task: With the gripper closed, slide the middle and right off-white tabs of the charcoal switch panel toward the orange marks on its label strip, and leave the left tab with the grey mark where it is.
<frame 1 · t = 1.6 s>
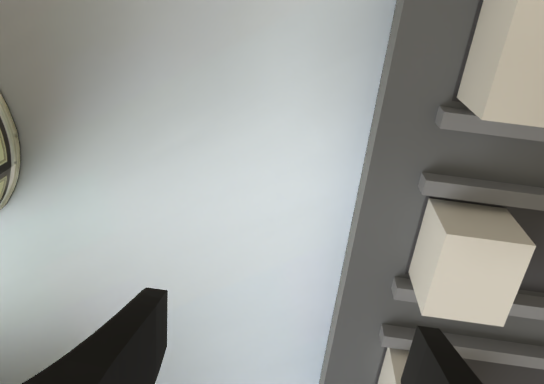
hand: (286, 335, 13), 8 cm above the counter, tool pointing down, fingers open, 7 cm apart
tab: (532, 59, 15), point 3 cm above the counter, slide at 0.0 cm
switch panel: (514, 231, 21), on the counter
tab middle: (464, 260, 18), point 3 cm above the counter, slide at 0.0 cm
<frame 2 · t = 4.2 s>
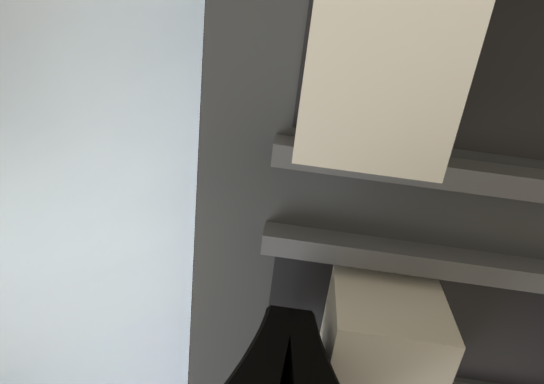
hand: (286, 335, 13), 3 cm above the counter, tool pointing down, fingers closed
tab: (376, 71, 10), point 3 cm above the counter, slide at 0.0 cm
switch panel: (410, 292, 16), on the counter
tab middle: (378, 351, 13), point 3 cm above the counter, slide at 1.6 cm, touching gripper
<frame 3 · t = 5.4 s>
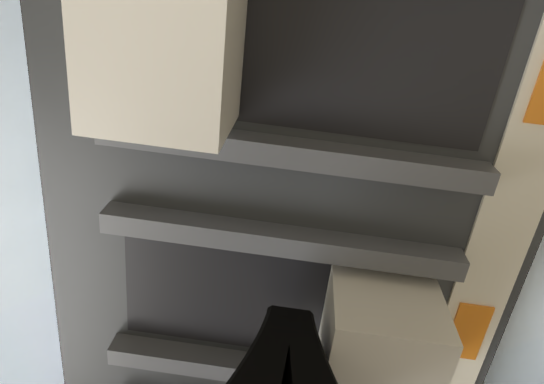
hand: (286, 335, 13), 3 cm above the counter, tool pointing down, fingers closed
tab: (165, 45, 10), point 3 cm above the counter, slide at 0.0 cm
switch panel: (277, 273, 16), on the counter
tab middle: (377, 351, 13), point 3 cm above the counter, slide at 6.0 cm, touching gripper
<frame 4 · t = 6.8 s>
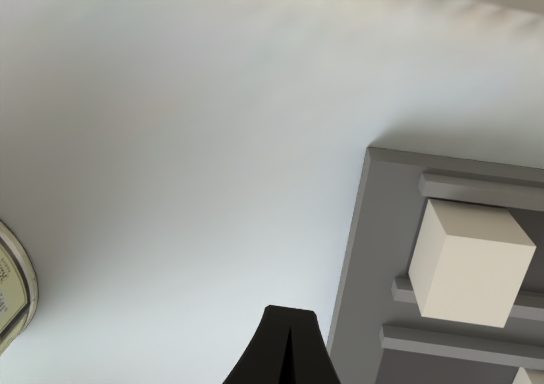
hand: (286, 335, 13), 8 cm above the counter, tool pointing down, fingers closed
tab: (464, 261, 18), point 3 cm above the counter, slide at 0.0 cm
switch panel: (466, 361, 24), on the counter
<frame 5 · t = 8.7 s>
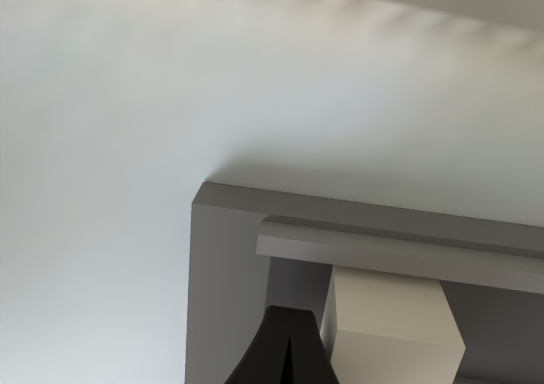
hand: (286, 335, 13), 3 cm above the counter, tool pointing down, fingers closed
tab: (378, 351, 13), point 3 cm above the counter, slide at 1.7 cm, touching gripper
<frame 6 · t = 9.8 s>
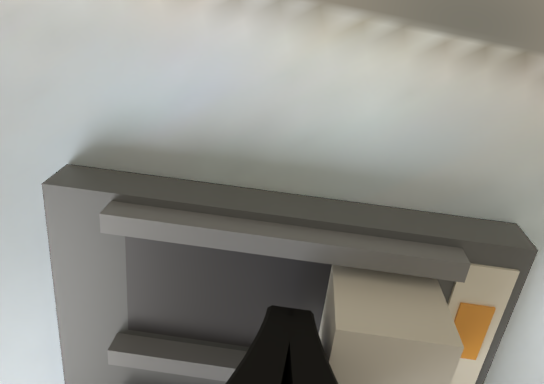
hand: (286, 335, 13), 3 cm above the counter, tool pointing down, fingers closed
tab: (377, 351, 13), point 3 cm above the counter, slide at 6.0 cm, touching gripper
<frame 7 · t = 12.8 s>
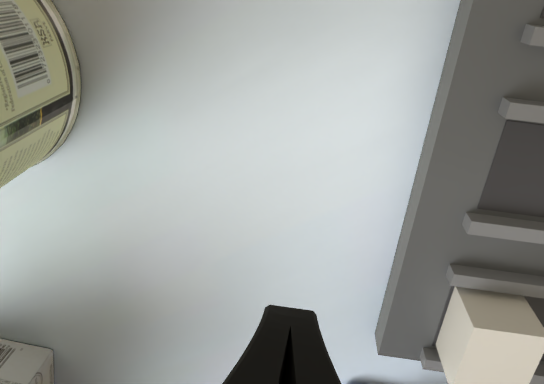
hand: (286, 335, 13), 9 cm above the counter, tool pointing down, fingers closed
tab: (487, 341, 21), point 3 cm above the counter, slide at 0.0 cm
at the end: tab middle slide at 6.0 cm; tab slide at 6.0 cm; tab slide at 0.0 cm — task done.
